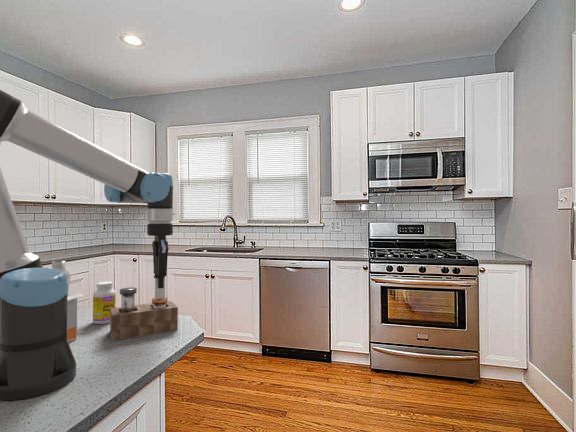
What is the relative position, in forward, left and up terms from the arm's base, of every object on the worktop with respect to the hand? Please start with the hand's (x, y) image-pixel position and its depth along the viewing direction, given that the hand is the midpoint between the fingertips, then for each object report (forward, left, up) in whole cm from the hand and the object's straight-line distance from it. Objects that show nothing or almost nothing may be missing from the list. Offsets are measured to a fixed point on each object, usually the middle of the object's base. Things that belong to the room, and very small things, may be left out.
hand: (159, 297), depth 108 cm
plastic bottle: (+23, +28, -10) cm, 37 cm away
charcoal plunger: (0, +9, -5) cm, 10 cm away
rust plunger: (0, 0, -9) cm, 9 cm away
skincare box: (+1, +26, -10) cm, 27 cm away
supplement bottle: (+16, +15, -10) cm, 24 cm away
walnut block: (0, +5, -10) cm, 11 cm away
